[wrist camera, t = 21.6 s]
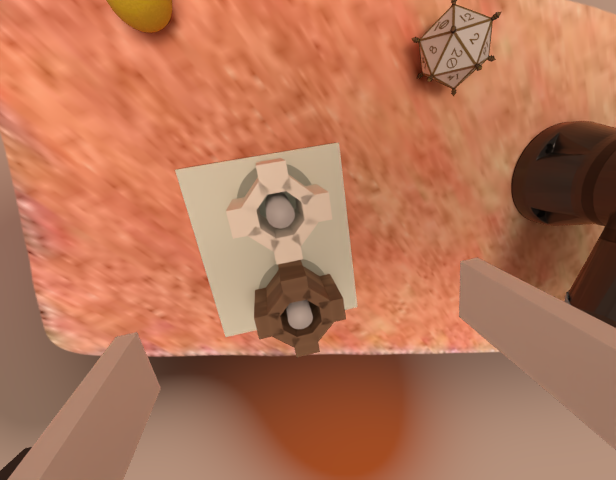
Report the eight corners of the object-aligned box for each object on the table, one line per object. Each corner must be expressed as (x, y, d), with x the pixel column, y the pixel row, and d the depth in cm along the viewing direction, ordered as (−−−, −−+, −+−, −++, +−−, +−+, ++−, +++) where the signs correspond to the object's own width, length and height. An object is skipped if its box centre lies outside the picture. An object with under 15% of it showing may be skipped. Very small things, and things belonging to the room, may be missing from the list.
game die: (425, 79, 40) (469, 118, 35) (383, 56, 36) (425, 97, 30) (478, 6, 35) (539, 40, 29) (436, -32, 30) (499, -1, 25)
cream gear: (323, 234, 39) (336, 252, 32) (244, 250, 38) (241, 271, 31) (311, 152, 35) (323, 153, 29) (224, 167, 34) (215, 172, 28)
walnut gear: (326, 248, 40) (339, 268, 33) (335, 314, 43) (349, 344, 37) (248, 264, 39) (246, 288, 32) (265, 330, 42) (265, 364, 36)
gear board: (335, 142, 37) (356, 141, 29) (353, 300, 45) (374, 335, 37) (179, 168, 35) (154, 175, 27) (227, 328, 43) (219, 372, 35)
